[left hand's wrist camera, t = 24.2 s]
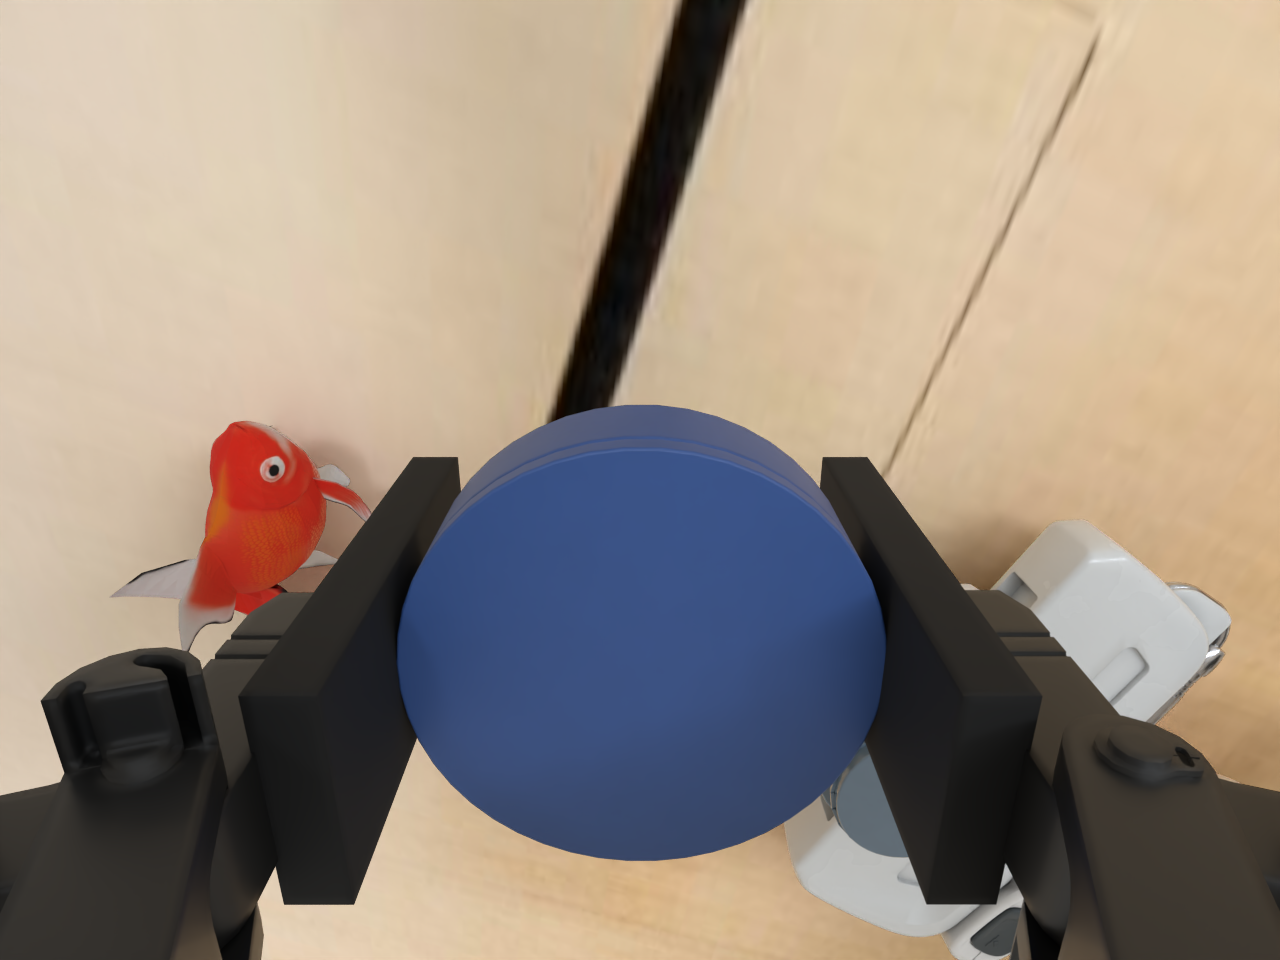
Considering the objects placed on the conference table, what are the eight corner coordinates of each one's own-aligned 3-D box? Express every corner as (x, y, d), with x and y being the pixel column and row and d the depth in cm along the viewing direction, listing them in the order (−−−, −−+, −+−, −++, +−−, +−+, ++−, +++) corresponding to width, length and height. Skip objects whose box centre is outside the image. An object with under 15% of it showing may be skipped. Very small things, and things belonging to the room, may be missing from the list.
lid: (492, 800, 13) (471, 891, 12) (372, 449, 11) (326, 501, 9) (873, 741, 13) (906, 826, 11) (829, 362, 11) (863, 400, 9)
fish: (489, 486, 33) (298, 648, 26) (423, 666, 44) (276, 815, 37) (290, 336, 35) (57, 453, 28) (274, 547, 45) (104, 670, 38)
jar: (768, 639, 41) (831, 874, 28) (758, 543, 40) (821, 743, 26) (876, 626, 41) (994, 857, 27) (872, 528, 39) (996, 723, 25)
